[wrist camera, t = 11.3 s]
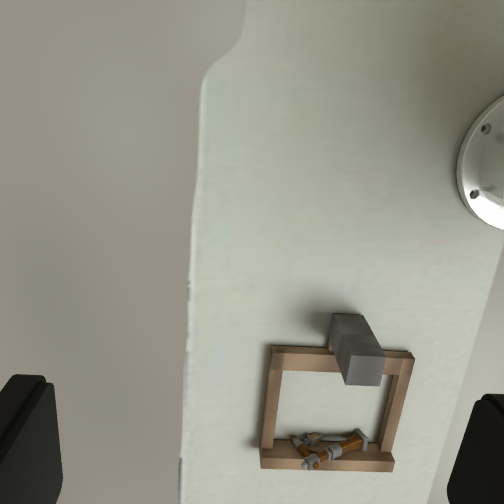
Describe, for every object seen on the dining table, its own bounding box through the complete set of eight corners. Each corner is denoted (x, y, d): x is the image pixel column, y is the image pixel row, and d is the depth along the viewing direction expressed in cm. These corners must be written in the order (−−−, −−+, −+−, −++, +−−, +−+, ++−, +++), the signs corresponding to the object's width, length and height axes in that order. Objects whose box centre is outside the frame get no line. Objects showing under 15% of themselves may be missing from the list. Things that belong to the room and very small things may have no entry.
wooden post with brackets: (284, 434, 48) (306, 465, 44) (343, 412, 51) (369, 439, 48) (283, 447, 49) (305, 479, 45) (342, 425, 52) (367, 452, 48)
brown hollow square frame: (419, 318, 44) (451, 360, 37) (384, 454, 50) (407, 509, 44) (275, 310, 43) (283, 352, 36) (259, 450, 49) (263, 506, 43)
